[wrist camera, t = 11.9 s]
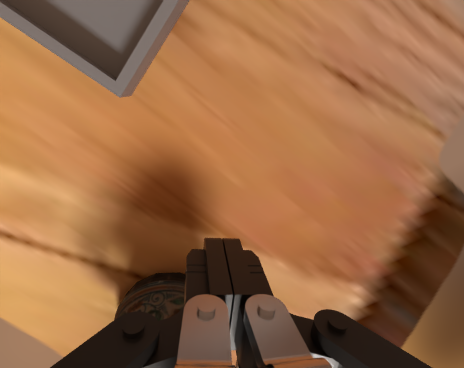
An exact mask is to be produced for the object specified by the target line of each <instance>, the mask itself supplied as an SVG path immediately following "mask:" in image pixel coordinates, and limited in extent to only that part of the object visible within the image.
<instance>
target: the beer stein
mask: <svg viewBox="0 0 464 368" xmlns="http://www.w3.org/2000/svg"><path fill="white" fill-rule="evenodd" d="M185 276H186V275H184V274H182V273H156V274H154V275H152V276H150V277H148V278H146V279H144V280H141V281H139V282H137V283H136V284H135V285H134V286H133V288H132V289H131V290H130V291H129V292H128V293H127V294H126V296H125V298H124V299H123V301H122V302H121V303H120V305H119V307H118V309H117V311H116V315H115V319H117V318H118V317H120V316H122V315H124V314H127V313H130V312H136V311H141V312H146V313H149V314H151V315H153V316H154V317H155V318H156V319H157V320H158V321H160V320H163V319H167V318H170V317H172V316H174V315H175V314H177V313H178V312H179V311H180V310H181V309H182V308H183V306H184V297H185ZM115 319H114V320H115Z"/></svg>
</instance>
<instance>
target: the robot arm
mask: <svg viewBox="0 0 464 368" xmlns="http://www.w3.org/2000/svg"><path fill="white" fill-rule="evenodd" d="M261 266H262V265H261V263H260V260H259V258H258V257H257V256H256V255H255V254H254V253H253V252H252V251H251V250H243V248H242V245H241V242H240V239H231V238H205V239H204V247H203V249H192V250H191V251H190V253H189V254H188V255H187V262H186V276H185V297H184V306H183V308H182V309H181V310H180V311H179V312H178V313H177V314H175V315H174V316H172V317H170V318H167V319H163V320H160V321H158V320H157V319H156V318H155V317H154V316H153V315H151V314H149V313H146V312H141V311H136V312H130V313H127V314H124V315H122V316H120V317H118V318H117V319H115V320H114V321H113V322H111V323H110V324H109V325H107V326H106V327H105V328H103V329H102V330H101V331H99V332H98V333H96V334H95V335H94V336H92V337H91V338H90V339H88V340H87V341H86V342H84V343H83V344H82V345H80V346H79V347H77V348H76V349H75V350H73V351H72V352H71V353H69V354H68V355H67V356H65V357H64V358H63V359H61V360H60V361H58V362H57V363H56V364H54V365H53V366H52V367H50V368H431V367H430V366H429V365H427V364H425V363H423V362H422V361H420V360H419V359H417V358H415V357H414V356H412V355H410V354H409V353H407V352H406V351H404V350H402V349H401V348H399V347H397V346H396V345H394V344H392V343H391V342H389V341H387V340H386V339H384V338H382V337H381V336H379V335H378V334H376V333H374V332H373V331H371V330H369V329H368V328H366V327H364V326H363V325H361V324H359V323H358V322H356V321H355V320H353V319H351V318H350V317H348V316H346V315H345V314H343V313H340V312H338V311H335V310H328V309H326V310H321V311H319V312H317V313H316V314H315V317H314V320H312V319H308V318H304V317H300V316H296V315H293V314H291V313H289V312H288V310H287V308H286V306H285V305H284V304H283V302H281V301H280V300H279V299H277V298H275V297H274V296H273V293H272V291H271V288H270V286H269V283H268V281H267V278H266V276H265V274H264V270H263V268H262V267H261ZM231 350H236V354H237V362H236V367H235V365H232V358H231Z"/></svg>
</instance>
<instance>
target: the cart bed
mask: <svg viewBox="0 0 464 368" xmlns="http://www.w3.org/2000/svg"><path fill="white" fill-rule="evenodd" d="M188 2H189V0H0V17H1V18H2V19H4V20H5V21H7V22H8V23H10V24H11V25H13V26H14V27H16V28H17V29H19V30H20V31H22V32H23V33H25V34H26V35H28V36H29V37H31V38H32V39H34V40H35V41H37V42H38V43H40V44H41V45H42V46H44V47H45V48H47V49H48V50H50V51H51V52H53V53H54V54H56V55H57V56H59V57H60V58H62V59H63V60H65V61H66V62H68V63H69V64H71V65H72V66H74V67H75V68H77V69H78V70H80V71H81V72H83V73H84V74H86V75H87V76H89V77H90V78H92V79H93V80H95V81H96V82H98V83H99V84H101V85H102V86H104V87H105V88H107V89H108V90H110V91H111V92H113V93H114V94H116V95H117V96H119V97H127V96H131V95H132V93H133V92H134V90H135V89H136V87H137V85H138V84H139V82H140V80H141V79H142V77H143V75H144V74H145V72H146V71H147V69H148V67H149V66H150V64H151V62H152V61H153V59H154V58H155V56H156V54H157V53H158V51H159V49H160V48H161V46H162V44H163V43H164V41H165V40H166V38H167V36H168V35H169V33H170V31H171V30H172V28H173V27H174V25H175V23H176V22H177V20H178V18H179V17H180V15H181V13H182V12H183V10H184V9H185V7H186V5H187V4H188Z"/></svg>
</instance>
